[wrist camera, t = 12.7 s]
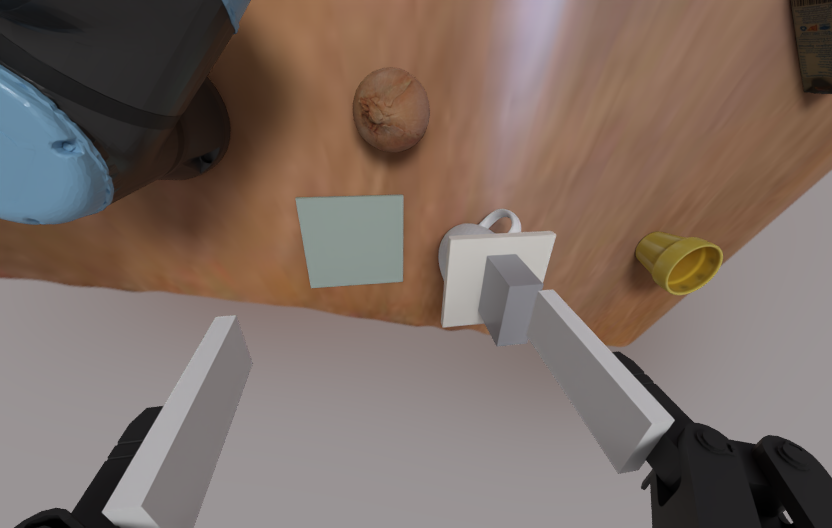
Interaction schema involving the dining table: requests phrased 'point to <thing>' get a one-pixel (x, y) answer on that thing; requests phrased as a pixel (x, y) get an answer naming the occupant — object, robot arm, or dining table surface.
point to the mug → (476, 232)
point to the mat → (352, 239)
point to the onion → (391, 109)
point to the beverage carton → (814, 43)
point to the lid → (495, 281)
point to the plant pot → (679, 261)
